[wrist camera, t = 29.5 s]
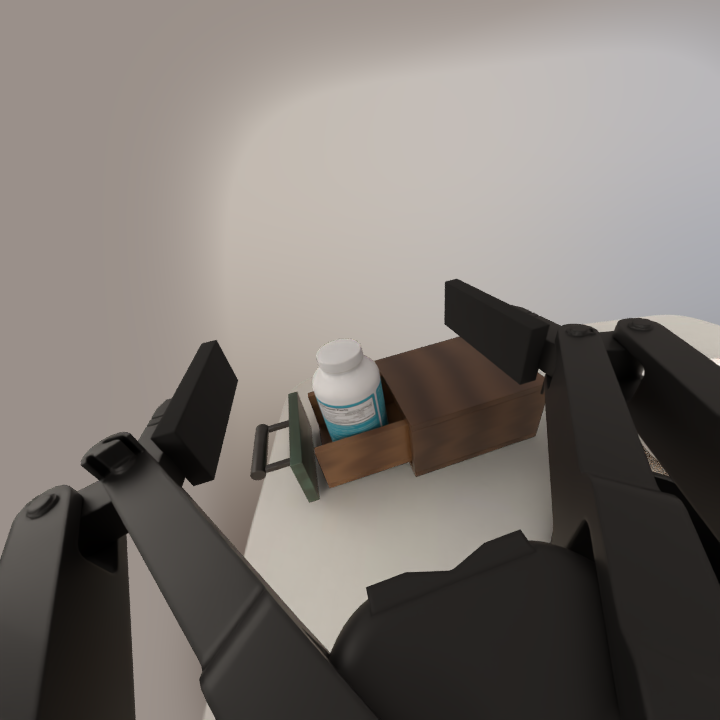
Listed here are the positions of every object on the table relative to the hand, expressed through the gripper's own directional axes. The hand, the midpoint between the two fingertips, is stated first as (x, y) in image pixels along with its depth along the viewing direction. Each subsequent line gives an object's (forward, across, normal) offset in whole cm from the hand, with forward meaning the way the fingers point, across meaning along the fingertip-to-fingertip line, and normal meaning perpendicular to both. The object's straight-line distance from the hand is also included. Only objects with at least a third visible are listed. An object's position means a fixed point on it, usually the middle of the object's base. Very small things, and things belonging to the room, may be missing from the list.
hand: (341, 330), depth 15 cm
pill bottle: (+10, 0, -20) cm, 23 cm away
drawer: (+10, -3, -21) cm, 24 cm away
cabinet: (+10, +13, -22) cm, 27 cm away
